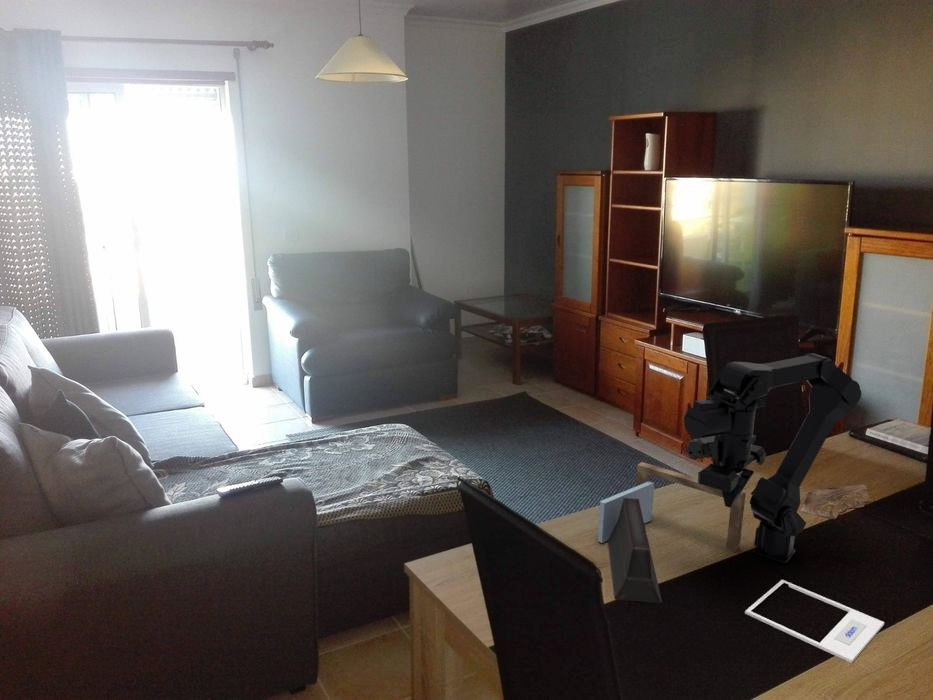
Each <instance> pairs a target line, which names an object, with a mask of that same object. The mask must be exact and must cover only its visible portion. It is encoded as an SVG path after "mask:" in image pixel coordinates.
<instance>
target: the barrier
mask: <svg viewBox="0 0 933 700" xmlns="http://www.w3.org/2000/svg"><path fill="white" fill-rule="evenodd" d="M607 547H608V555H609V565H610V573H611V574H610V575H611V581H612V582H611V583H612V590H613V597H614V600H616V601H617V600H618V601H632V602H642V603H643V602H644V603H655V604H656V603H659V604H662V597H661V592H660V586H659V582H658V578H657V574H656V573H657V572H656V569H655V565H654V561H653V556H652V551H651V547H650V542H649V538H648V534H647V531H646V526H645V524H644V521H643V516H642V511H641V507H640V502H639V499H631V498H624V499H623V503H622V507H621V511H620V514H619V518H618V522H617V523H616V525H615V527H614V530H613V532H612V534H611V536H610V538H609V540H608V541H607Z"/></svg>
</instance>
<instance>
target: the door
mask: <svg viewBox="0 0 933 700" xmlns="http://www.w3.org/2000/svg"><path fill="white" fill-rule="evenodd" d="M654 492H655V482H654V481H652V480H649V481H648V482H646V483H643V484H641V485H639V486H636V485H635V486H634V487H632V488H629V489H627V490H624V491H622V492H619V493H617V494H615V495H612V496H609V497H608V498H607V497H606V498H604V499H603V500H600V501H599V512H598V513H597V516H596V517H597V519H598V528H597V529H598V530H597V541H598V542H599V543H601V544H603V543H605V542H608V540H609V538H610V536H611V534H612V532H613V530H614V527H615V525H616V523H617V522H618V518H619V514H620V511H621V507H622V503H623V499H624V498H631V499H639V502H640V507H641V511H642V516H643V521H644V525H645V524H646V523H649V522H650V521H652V516H653V503H654Z"/></svg>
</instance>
